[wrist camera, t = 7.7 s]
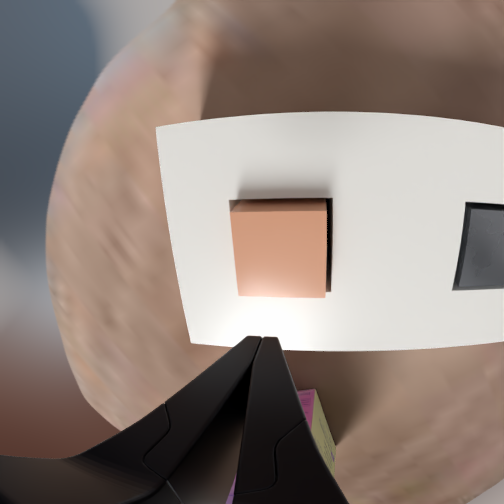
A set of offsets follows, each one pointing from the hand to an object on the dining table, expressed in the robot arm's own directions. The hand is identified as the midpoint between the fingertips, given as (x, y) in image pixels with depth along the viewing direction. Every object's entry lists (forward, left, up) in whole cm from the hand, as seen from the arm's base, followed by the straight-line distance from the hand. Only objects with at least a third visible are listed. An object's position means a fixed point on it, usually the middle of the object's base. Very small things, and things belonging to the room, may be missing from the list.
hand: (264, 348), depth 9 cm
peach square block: (0, 0, -11) cm, 11 cm away
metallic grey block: (-11, 0, -12) cm, 16 cm away
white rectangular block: (-5, 0, -13) cm, 14 cm away
